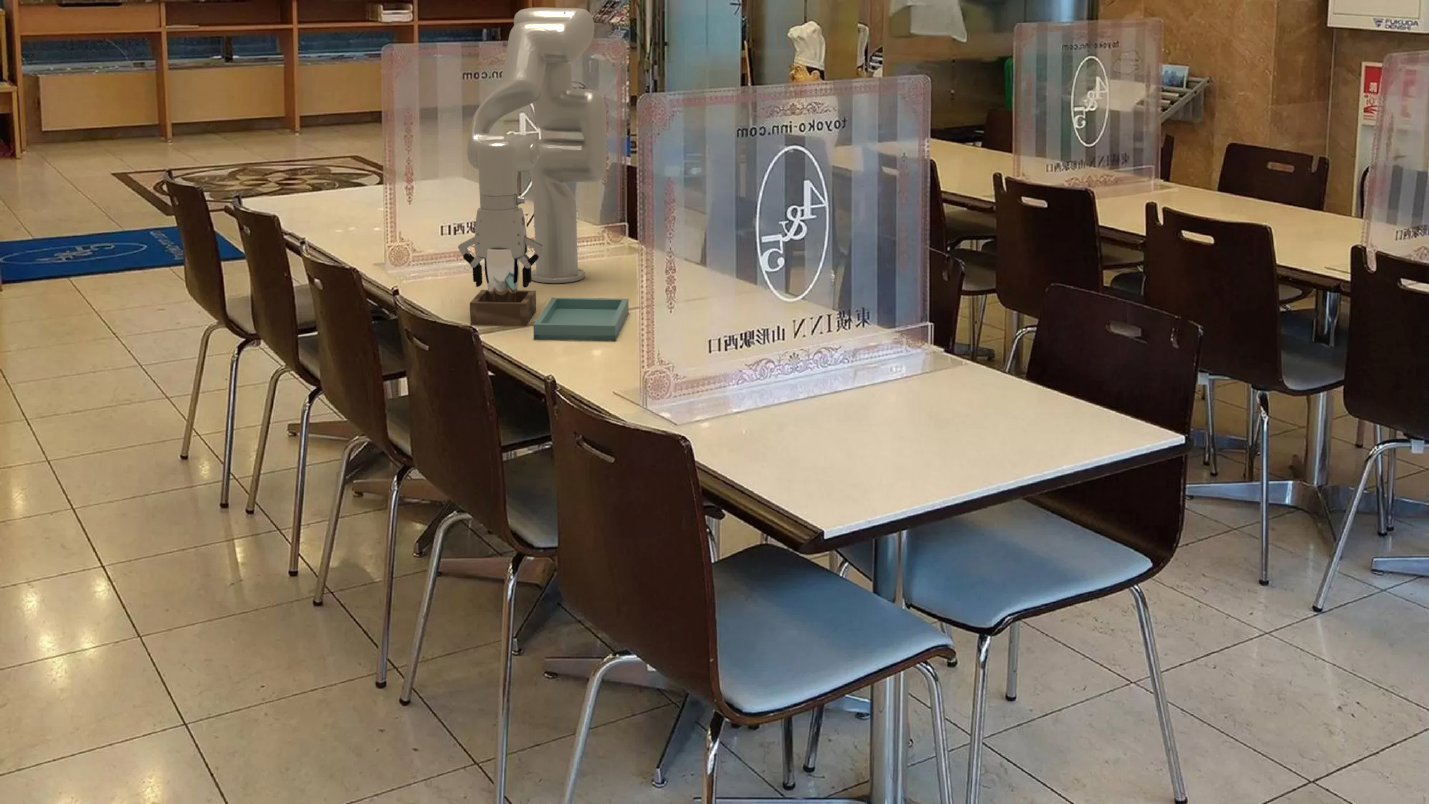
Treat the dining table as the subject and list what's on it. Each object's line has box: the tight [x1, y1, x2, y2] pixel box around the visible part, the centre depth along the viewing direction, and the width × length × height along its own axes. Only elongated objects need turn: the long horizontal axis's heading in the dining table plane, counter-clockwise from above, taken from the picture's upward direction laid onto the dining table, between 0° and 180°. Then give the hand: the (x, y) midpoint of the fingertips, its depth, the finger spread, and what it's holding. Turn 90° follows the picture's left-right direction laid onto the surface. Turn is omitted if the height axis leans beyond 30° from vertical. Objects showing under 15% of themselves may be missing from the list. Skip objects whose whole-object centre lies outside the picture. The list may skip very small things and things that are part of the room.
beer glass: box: [483, 248, 520, 302], centre depth 304 cm, size 7×7×15 cm
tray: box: [532, 297, 630, 342], centre depth 300 cm, size 22×16×3 cm
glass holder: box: [469, 289, 537, 327], centre depth 306 cm, size 11×11×4 cm
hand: (502, 285), depth 304 cm, fingers open, 9 cm apart
